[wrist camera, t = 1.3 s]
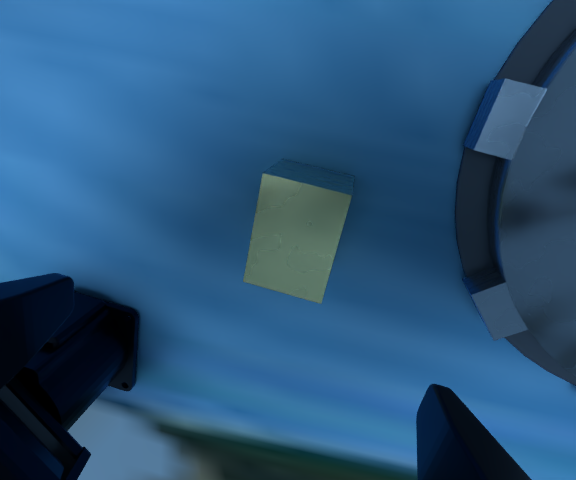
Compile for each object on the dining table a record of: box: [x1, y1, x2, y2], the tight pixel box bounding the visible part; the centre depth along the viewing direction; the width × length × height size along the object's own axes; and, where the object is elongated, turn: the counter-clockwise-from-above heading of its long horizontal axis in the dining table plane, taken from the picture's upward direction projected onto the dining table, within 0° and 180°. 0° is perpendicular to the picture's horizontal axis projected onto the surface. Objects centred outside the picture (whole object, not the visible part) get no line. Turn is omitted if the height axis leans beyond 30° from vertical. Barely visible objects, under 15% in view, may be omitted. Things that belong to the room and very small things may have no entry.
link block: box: [243, 159, 354, 304], centre depth 17 cm, size 5×4×4 cm
